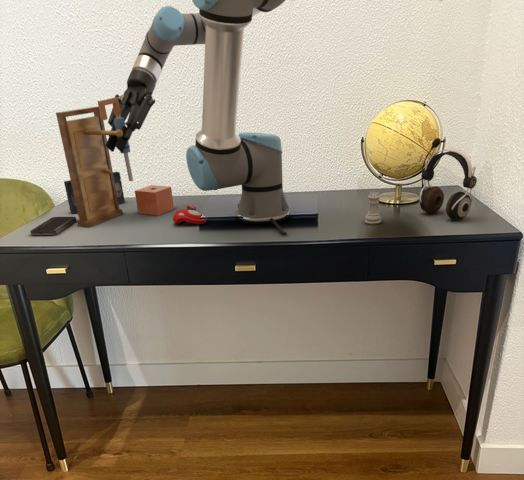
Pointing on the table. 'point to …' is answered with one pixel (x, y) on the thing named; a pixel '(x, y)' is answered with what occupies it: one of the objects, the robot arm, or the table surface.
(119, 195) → the vhs cassette tape
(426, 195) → the headset
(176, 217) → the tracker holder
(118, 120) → the umbrella
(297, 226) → the table surface
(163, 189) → the stand
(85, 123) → the door
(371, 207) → the rook chess piece
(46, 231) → the phone
